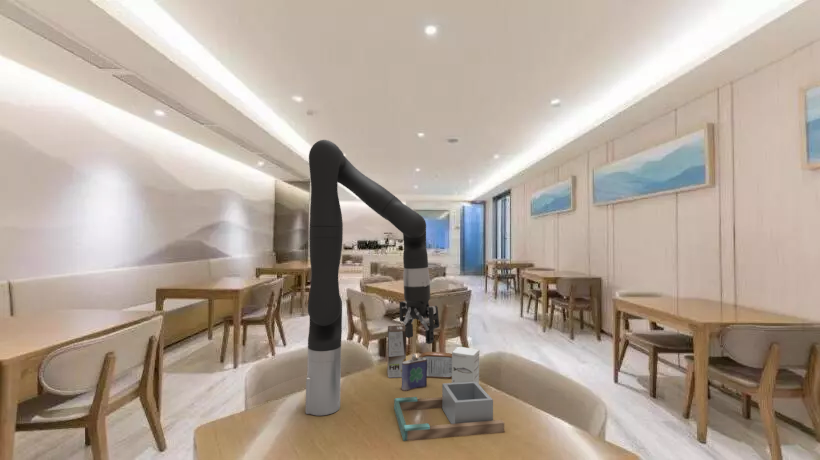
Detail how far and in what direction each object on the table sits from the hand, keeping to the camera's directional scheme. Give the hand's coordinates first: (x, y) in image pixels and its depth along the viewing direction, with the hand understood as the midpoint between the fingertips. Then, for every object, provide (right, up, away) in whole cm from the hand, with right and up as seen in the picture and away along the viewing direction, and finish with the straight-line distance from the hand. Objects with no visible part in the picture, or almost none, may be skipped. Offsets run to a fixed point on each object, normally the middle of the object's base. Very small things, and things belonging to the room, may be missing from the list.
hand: (419, 340), depth 101 cm
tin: (+7, -20, +23) cm, 32 cm away
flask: (-1, -20, +14) cm, 24 cm away
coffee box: (-8, -20, +27) cm, 34 cm away
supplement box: (+15, -20, +12) cm, 28 cm away
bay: (+7, -19, -7) cm, 22 cm away
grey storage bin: (+12, -19, -6) cm, 23 cm away
